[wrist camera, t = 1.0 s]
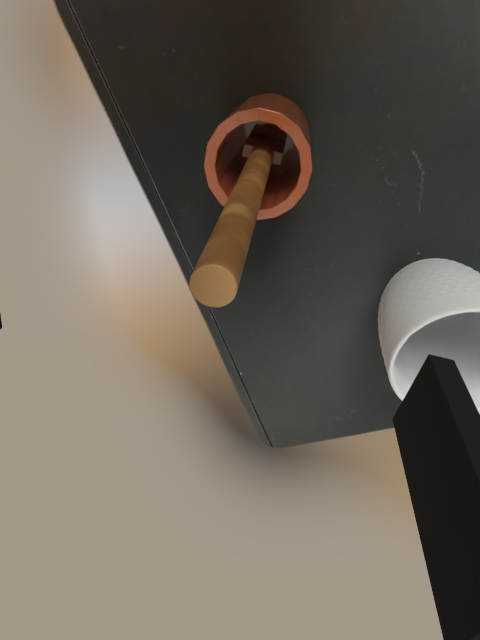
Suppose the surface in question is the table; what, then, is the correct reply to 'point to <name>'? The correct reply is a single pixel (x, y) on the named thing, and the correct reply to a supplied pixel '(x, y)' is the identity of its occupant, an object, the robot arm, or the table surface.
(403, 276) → the mug
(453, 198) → the table surface
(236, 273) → the wooden rod
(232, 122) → the crock
